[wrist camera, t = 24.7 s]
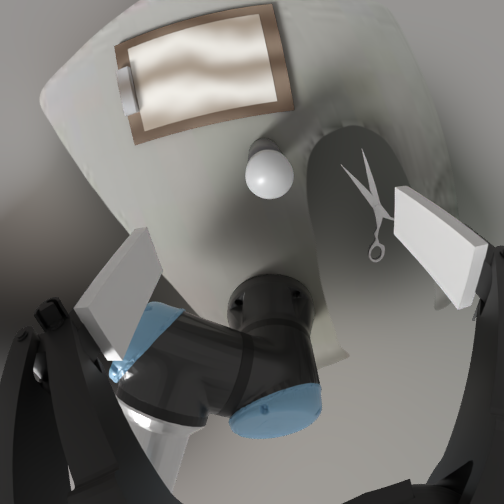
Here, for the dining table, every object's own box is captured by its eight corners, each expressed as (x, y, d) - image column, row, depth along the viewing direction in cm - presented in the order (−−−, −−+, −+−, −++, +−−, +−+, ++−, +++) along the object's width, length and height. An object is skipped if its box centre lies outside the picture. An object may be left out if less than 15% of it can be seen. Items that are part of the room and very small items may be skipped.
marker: (282, 163, 36) (298, 193, 24) (252, 170, 37) (252, 203, 25) (275, 134, 34) (288, 148, 22) (245, 141, 35) (239, 159, 23)
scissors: (376, 270, 45) (320, 175, 37) (374, 268, 45) (319, 173, 37) (424, 239, 41) (379, 137, 34) (422, 237, 42) (377, 136, 34)
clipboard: (293, 110, 33) (295, 110, 31) (137, 144, 35) (131, 146, 33) (271, 6, 25) (272, 0, 23) (117, 47, 27) (110, 44, 25)
